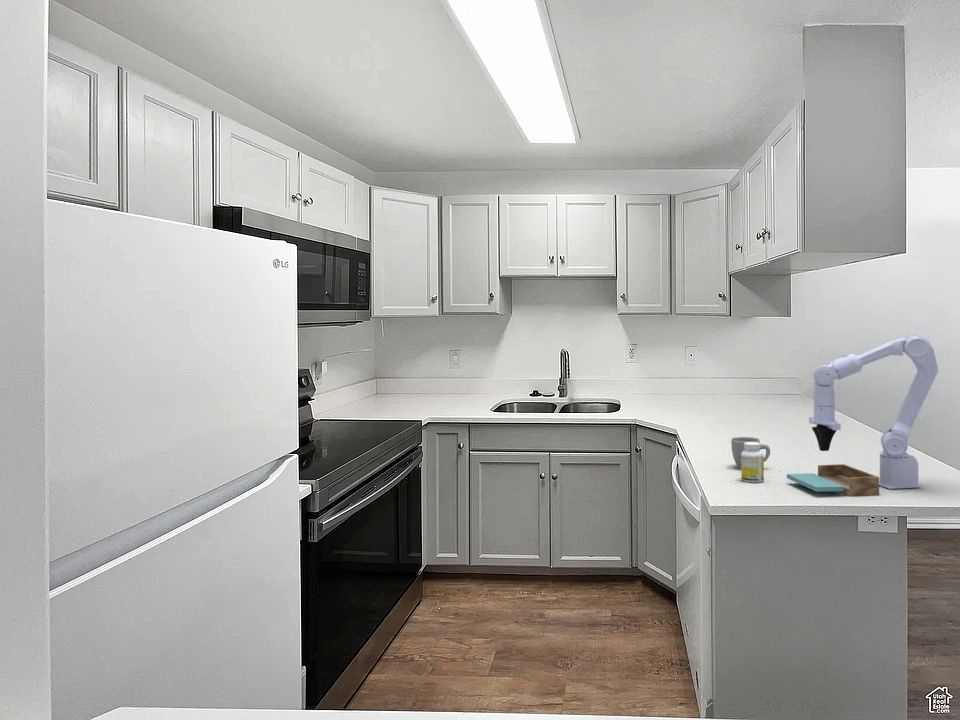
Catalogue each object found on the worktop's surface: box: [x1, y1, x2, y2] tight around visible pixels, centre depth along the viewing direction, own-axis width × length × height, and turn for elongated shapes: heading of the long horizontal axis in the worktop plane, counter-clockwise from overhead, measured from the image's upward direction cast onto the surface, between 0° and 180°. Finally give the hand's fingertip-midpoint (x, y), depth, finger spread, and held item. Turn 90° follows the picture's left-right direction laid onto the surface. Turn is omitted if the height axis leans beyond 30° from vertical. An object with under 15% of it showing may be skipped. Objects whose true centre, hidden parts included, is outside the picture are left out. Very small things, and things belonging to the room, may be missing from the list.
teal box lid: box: [786, 473, 846, 492], centre depth 217 cm, size 1×17×8 cm
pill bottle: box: [740, 442, 765, 484], centre depth 230 cm, size 6×6×12 cm
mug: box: [730, 436, 771, 470], centre depth 248 cm, size 12×9×10 cm
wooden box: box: [817, 463, 880, 497], centre depth 218 cm, size 9×18×5 cm, turn 4°
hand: (824, 450), depth 226 cm, fingers closed
